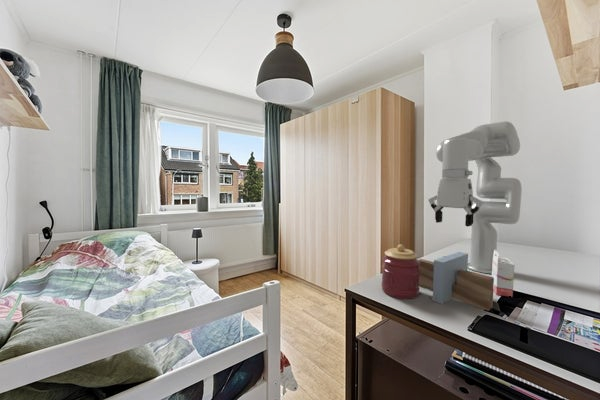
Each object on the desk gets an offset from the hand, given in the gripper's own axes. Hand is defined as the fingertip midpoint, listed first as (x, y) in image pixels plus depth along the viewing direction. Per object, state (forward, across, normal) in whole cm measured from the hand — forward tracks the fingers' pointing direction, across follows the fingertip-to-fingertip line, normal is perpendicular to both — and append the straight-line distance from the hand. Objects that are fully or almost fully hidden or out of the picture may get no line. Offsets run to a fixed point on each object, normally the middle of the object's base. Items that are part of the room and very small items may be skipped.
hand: (453, 224), depth 86 cm
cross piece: (+26, 0, 0) cm, 26 cm away
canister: (+26, +12, +12) cm, 31 cm away
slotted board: (+26, 0, 0) cm, 26 cm away
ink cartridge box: (+26, -9, -18) cm, 33 cm away
